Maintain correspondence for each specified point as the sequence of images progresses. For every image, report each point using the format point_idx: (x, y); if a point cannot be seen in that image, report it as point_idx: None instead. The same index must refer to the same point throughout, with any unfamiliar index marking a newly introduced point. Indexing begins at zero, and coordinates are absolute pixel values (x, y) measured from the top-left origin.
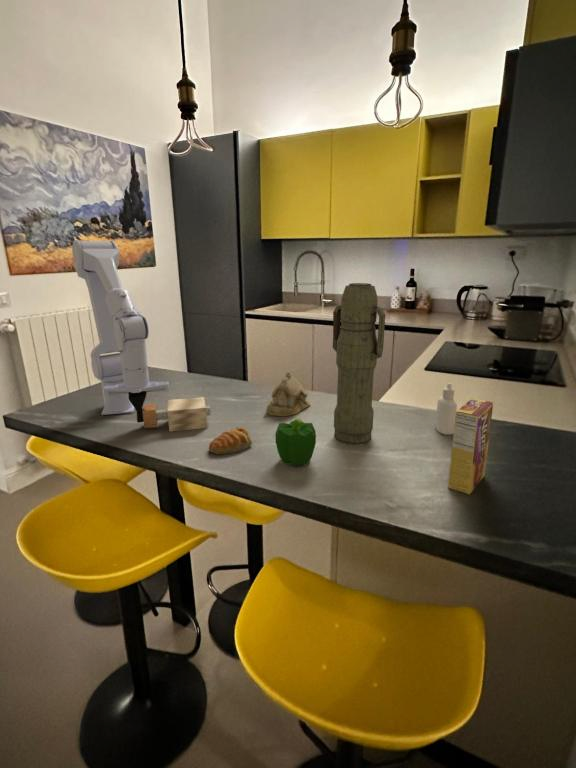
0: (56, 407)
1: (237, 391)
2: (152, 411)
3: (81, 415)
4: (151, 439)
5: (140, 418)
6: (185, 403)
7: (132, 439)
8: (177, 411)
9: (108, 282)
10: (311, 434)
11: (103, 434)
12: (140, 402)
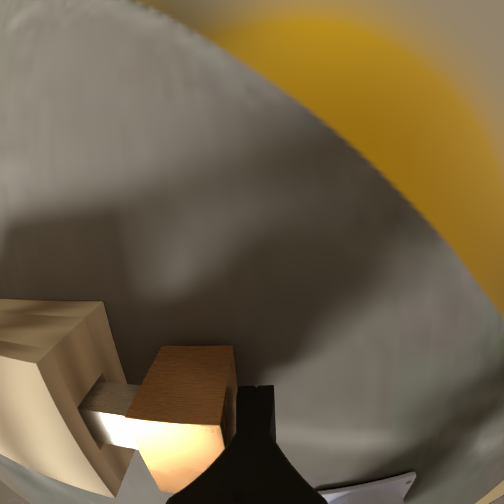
0: (489, 478)
1: (42, 495)
2: (148, 411)
3: (462, 460)
4: (175, 214)
5: (251, 399)
6: (13, 427)
7: (289, 235)
8: (2, 351)
9: None
10: None
11: (434, 324)
12: (219, 485)
